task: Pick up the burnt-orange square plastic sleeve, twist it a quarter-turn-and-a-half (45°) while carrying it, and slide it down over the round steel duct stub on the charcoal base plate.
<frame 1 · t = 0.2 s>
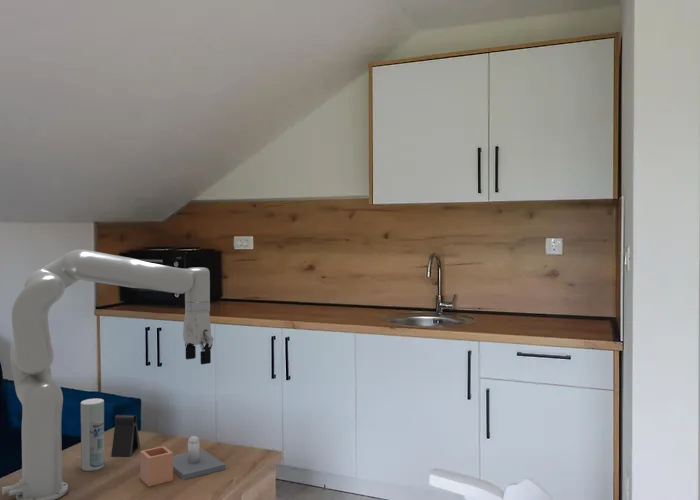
hand: (198, 361, 188), 31 cm above the table, tool pointing down, fingers open, 9 cm apart
sleeve: (156, 479, 172), on the table
duct base: (193, 466, 182), on the table
phone stand: (126, 452, 194), on the table
spray can: (92, 467, 181), on the table
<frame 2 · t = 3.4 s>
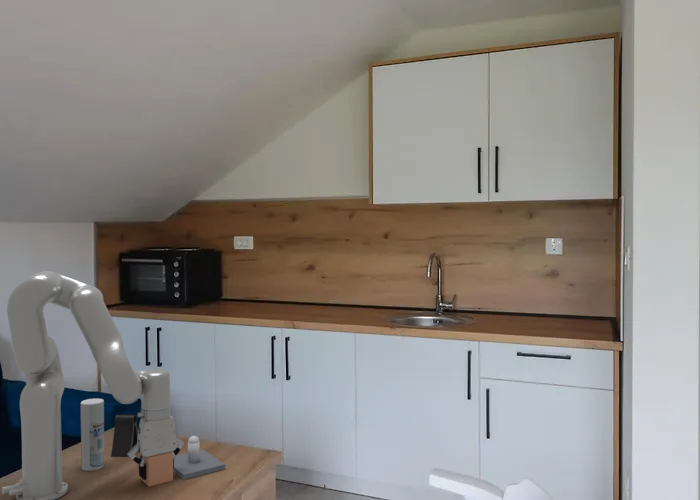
hand: (156, 474, 172), 1 cm above the table, tool pointing down, fingers closed on sleeve, 7 cm apart
sleeve: (156, 479, 172), on the table, touching gripper
everything else where it was.
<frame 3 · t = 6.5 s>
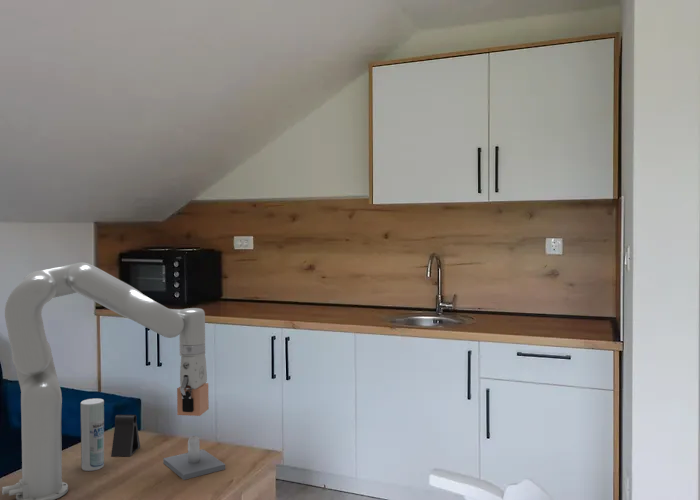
hand: (193, 407, 181), 18 cm above the table, tool pointing down, fingers closed on sleeve, 7 cm apart
sleeve: (193, 412, 181), point 17 cm above the table, touching gripper
everything else where it was.
when the fingers open (5 cm above the table, at t = 9.5 s): sleeve drops 2 cm, resting on duct base.
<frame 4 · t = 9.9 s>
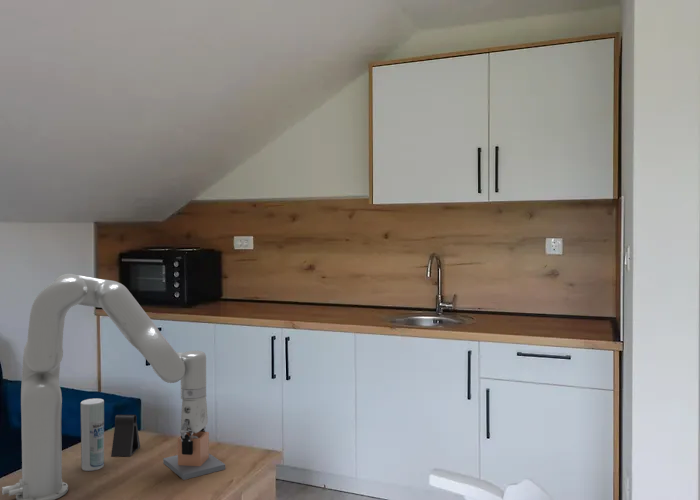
hand: (193, 448, 182), 5 cm above the table, tool pointing down, fingers open, 9 cm apart
sleeve: (193, 461, 182), point 1 cm above the table, touching duct base
everything else where it was.
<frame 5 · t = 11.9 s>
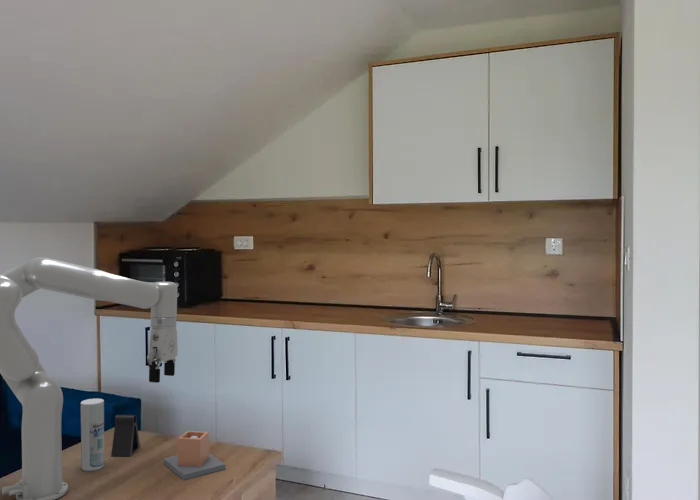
hand: (161, 378, 182), 27 cm above the table, tool pointing down, fingers open, 9 cm apart
nothing on the table moved.
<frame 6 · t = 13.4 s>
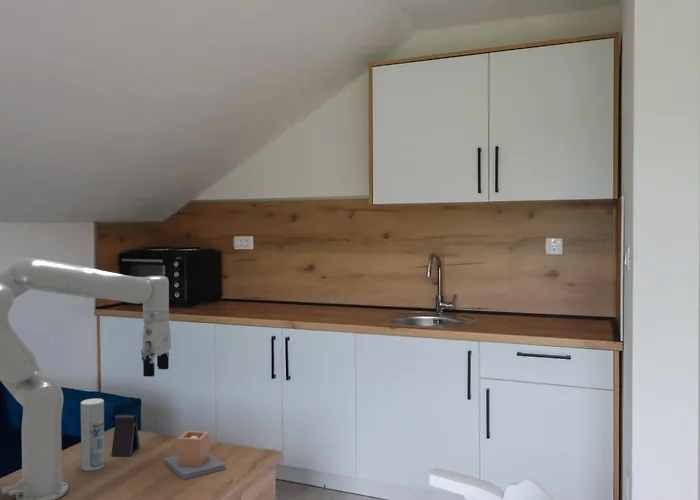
hand: (156, 372, 182), 28 cm above the table, tool pointing down, fingers open, 9 cm apart
nothing on the table moved.
at the end: sleeve 0.0 cm off-centre on the duct base, point 1.5 cm above the duct base's base; sleeve tilted 0°; the gripper is holding nothing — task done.
